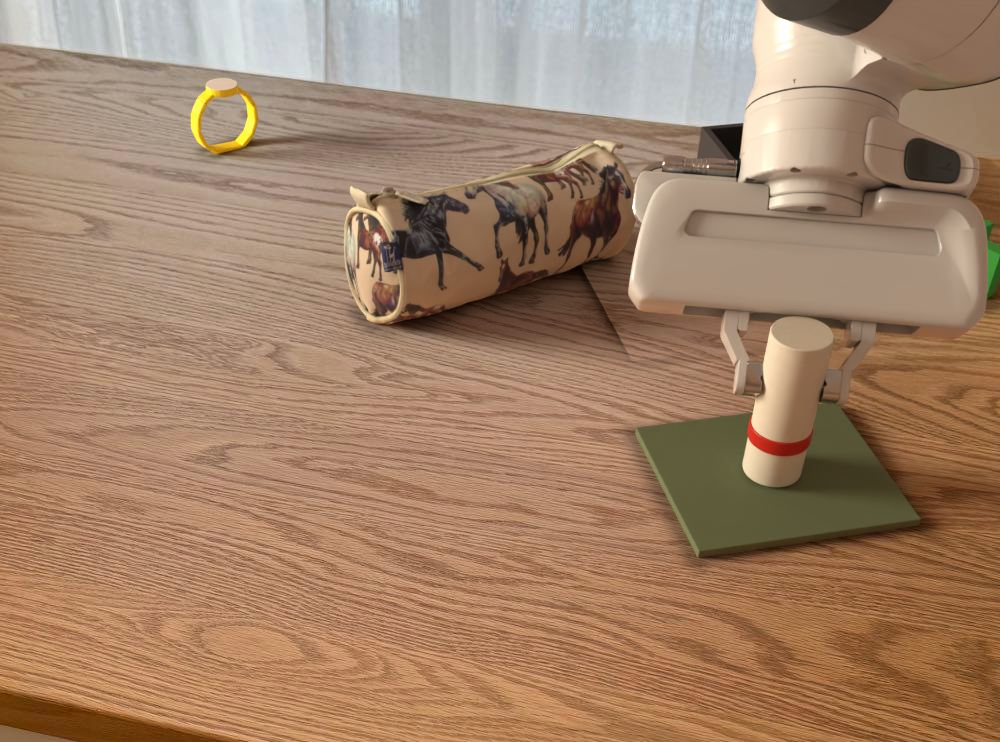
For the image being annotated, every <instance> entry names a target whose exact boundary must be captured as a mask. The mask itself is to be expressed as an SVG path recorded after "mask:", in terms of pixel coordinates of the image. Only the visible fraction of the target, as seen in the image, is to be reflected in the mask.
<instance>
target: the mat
mask: <svg viewBox="0 0 1000 742" xmlns="http://www.w3.org/2000/svg"><path fill="white" fill-rule="evenodd" d="M752 414H753V412H748V413H739V414H733V415H724V416H717V417H708V418H701V419H693V420H685V421H678V422H671V423H670V422H669V423H661V424H653V425H647V426H646V425H645V426H637V427H635V432H634V435H635V437H636V439H637V441H638V443H639V445H640V447H641V449H642V451H643V453H644V455H645V457H646V459H647V461H648V462H649V465H650V467H651V469H652V471H653V473H654V475H655V477H656V479H657V480H658V482H659V484H660V486H661V488H662V491H663V492H664V494H665V496H666V498H667V500H668V502H669V504H670V507H671V508H672V510H673V512H674V514H675V516H676V518H677V520H678V522H679V525H680V526H681V528H682V530H683V532H684V534H685V536H686V538H687V540H688V542H689V544H690V545H691V548H692V550H693V552H694V553H695V556H696V557H697V559H700V558H706V557H714V556H721V555H729V554H736V553H742V552H748V551H755V550H762V549H770V548H776V547H782V546H789V545H797V544H803V543H810V542H816V541H823V540H830V539H837V538H844V537H851V536H857V535H863V534H864V535H865V534H871V533H872V534H873V533H878V532H885V531H891V530H899V529H905V528H911V527H912V528H913V527H917V526H918V527H919V526H920V524H921V521H922V518H921V517H920V515H919V514H918V512H916V510H915V508H914V507H913V506H912V504H911V503H910V502H909V501H908V499H907V498H906V496H905V494H904V493H903V492H902V490H901V489H900V488H899V486H898V484H896V482H895V480H893V478H892V477H891V475H890V474H889V472H888V471H887V470H886V468H885V467H884V465H883V464H882V463H881V461H880V460H879V459H878V457H877V456H876V454H875V453H874V452H873V450H872V449H871V448H870V447H869V445H868V443H867V442H866V441H865V439H864V438H863V436H862V435H861V433H859V431H858V430H857V428H856V427H855V425H854V424H853V423H852V421H851V420H850V418H849V417H848V416H847V414H846V413H845V412H844V410H843V409H842V407H841V405H835V404H827V403H819V404H818V408H817V412H816V416H815V420H814V424H813V429H814V430H813V435H812V439H811V443H810V446H809V447H808V448H807V452H806V456H805V460H804V464H803V468H802V472H801V476H800V478H799V479H798V480H797V481H796V482H795V483H793V484H791V485H789V486H785V487H768V486H764V485H761V484H758V483H756V482H754V481H753V480H751V479H750V478H749V477H748V476H747V475H746V474H745V472H744V470H743V467H742V463H743V458H744V453H745V449H746V444H747V439H748V435H747V431H748V426H749V421H750V418H751V416H752Z"/></svg>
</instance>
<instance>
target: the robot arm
mask: <svg viewBox="0 0 1000 742" xmlns="http://www.w3.org/2000/svg"><path fill="white" fill-rule="evenodd" d="M752 53H753V58H754V64H755V78H754V82H753V86H752V89H751V91H750V94H749V96H748V98H747V101H746V104H745V107H744V118H743V123H744V124H743V133H742V142H741V152H740V158H739V160H733V159H717V158H708V159H707V158H705V159H697V158H693V157H692V158H690V157H686V156H684V155H678V154H676V155H675V154H674V155H673V154H671V155H665V156H663V157H662V161H659V160H658V161H655V162H652V163H650V164H648V165H647V166H645V167H643V169H641V171H640V172H639V174H637V177H636V179H635V181H634V194H633V202H632V211H633V215H634V218H635V220H636V222H635V223H637V224H638V226H640V228H639V232H638V236H637V240H636V244H635V248H634V252H633V253H634V254H633V258H632V263H631V268H630V276H629V281H628V289H627V295H628V298H629V299H630V301H631V302H632V304H633V305H634V306H635V308H636V309H637V310H638V311H640V312H643V313H644V312H645V313H653V314H664V315H677V316H686V317H698V318H708V319H721V324H720V325H721V326H720V334H719V338H720V340H721V342H722V344H723V346H724V348H725V351H726V353H727V355H728V358H729V359H730V362H731V364H732V366H733V367H735V368H734V369H735V370H734V377H733V387H732V395H734V396H735V395H736V396H744V397H745V396H746V397H755V398H756V397H757V396H759V395H760V393H761V387H762V381H761V379H760V377H761V376H762V375H763V362H757V361H751V359H750V357H749V356H750V355H749V354H748V352H747V350H746V348H745V347H746V346H745V344H744V343H743V340H742V339H743V338H744V337H745V335H746V333H747V331H748V329H749V322H753V323H764V324H773V323H774V322H776V321H777V320H779V319H781V318H785V317H790V316H802V317H808V318H812V319H816V320H818V321H820V322H822V323H824V324H826V325H827V326H828V327H830V329H831V330H843V331H844V335H843V345H842V346H843V348H844V349H852V350H851V351H850V353H849V354H848V356H847V357H846V358H845V360H844V361H843V362H842V364H841V365H840V366H839V367H838V369H832V368H827V372H826V376H825V380H824V384H823V388H822V392H821V396H820V400H819V404H824V403H827V404H835V405H839V406H844V405H846V404H847V403H848V400H849V398H850V390H851V381H852V373H853V372H854V371H855V370H856V369H857V367H858V366H859V365H860V363H862V361H863V360H864V359H865V357H866V355H867V354H868V353H869V351H870V350H871V349H872V347H873V346H874V345H875V343H876V334H885V335H897V336H908V337H920V338H930V339H940V340H941V339H942V340H957V339H959V338H961V337H962V336H964V335H965V334H968V333H969V332H970V331H971V330H973V328H975V327H976V326H977V325H978V323H980V321H982V318H983V317H984V315H985V312H986V308H987V301H988V298H987V289H988V245H987V232H986V226H985V222H984V220H985V219H984V216H983V214H982V212H981V211H980V209H979V208H978V206H977V205H976V204H975V203H974V202H973V201H971V200H970V199H969V198H970V196H971V195H972V193H973V192H974V190H975V188H976V186H977V184H978V182H979V177H980V170H981V167H980V165H981V164H980V160H979V158H978V157H977V156H976V155H975V154H973V153H971V152H970V151H968V150H965V149H963V148H960V147H958V146H955V145H952V144H950V143H947V142H944V141H942V140H939V139H937V138H934V137H932V136H929V135H926V134H924V133H922V132H919V131H917V130H915V129H913V128H911V127H908V126H906V125H904V124H902V123H900V122H899V120H900V108H901V102H902V100H903V98H904V97H905V96H906V95H907V94H909V93H911V92H913V91H923V92H937V91H948V90H955V89H956V90H957V89H962V88H968V87H975V86H980V85H985V84H988V83H992V82H995V81H998V80H999V79H1000V0H757V1H756V7H755V15H754V24H753V32H752ZM660 169H661V171H655V170H660ZM735 177H736V178H735ZM736 179H738V180H737V182H736Z"/></svg>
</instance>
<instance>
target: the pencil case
mask: <svg viewBox="0 0 1000 742" xmlns="http://www.w3.org/2000/svg"><path fill="white" fill-rule="evenodd" d="M615 149H618V150H622V149H624V144H623V143H621V142H617V141H613V140H607V139H606V140H605V139H595V140H594V141H593V142H589V143H588V142H587V143H583V144H580V145H578V146H576V147H573V148H572V149H571V150H568V151H566V152H564V153H562V154H558V155H556V156H555V157H551V158H549V159H547V160H544V161H537V162H532V163H529V164H525V165H521V166H519V167H515V168H512V169H508V170H505V171H502V172H498V173H495V174H494V173H493V174H491V175H486V176H483V177H480V178H477V179H473V180H471V181H468V182H466V183H461V184H460V183H459V184H454V185H449V186H445V187H439V188H435V189H429V190H424V191H417V192H409V191H407V190H406V191H405V190H402V189H398V190H396V189H395V188H394V187H393V186H388V185H386V186H383V187H382V189H381V191H376V192H375V191H374V192H370V193H368V192H365V191H363V190H361V189H359V188H356V187H355V186H353V185H350V187H349V193H350V195H351V197H352V199H353V201H354V202H355V204H354V206H353V207H352V208H350V209H349V211H348V212H347V215H346V217H345V221H344V228H343V232H344V233H343V254H344V255H343V257H344V268H345V269H344V270H345V274H346V278H347V283H348V286H349V289H350V292H351V295H352V297H353V299H354V301H355V303H356V306H357V307H358V308H359V310H360V311H361V313H363V315H364V316H365V317H366V321H369V322H371V323H373V324H380V325H391V324H394V323H399V322H401V321H406V320H407V321H408V320H413V319H419V318H423V317H428V316H433V315H434V314H440V313H442V312H445V311H447V310H451V309H454V308H456V307H460V306H463V305H464V304H465V305H466V304H467V303H470V302H474V301H479V300H482V299H486V298H488V297H492V296H495V295H499V294H503V293H507V292H509V291H512V290H515V289H517V288H520V287H522V286H525V285H528V284H531V283H533V282H535V281H537V280H541V279H543V278H546V277H550V276H552V275H557V274H561V273H565V272H568V271H570V270H572V269H574V268H576V267H578V266H581V265H584V264H585V263H587V262H593V261H600V260H601V261H602V260H606V259H609V258H613V257H614V256H617V255H618V254H620V253H621V252H622V251H623V250H624V249H625V247H626V246H627V244H628V243H629V240H630V238H631V237H632V234H633V231H634V228H635V225H636V223H637V222H636V220H635V218H634V215H633V211H632V202H633V194H634V185H635V183H634V182H633V178H632V176H631V174H630V171H629V169H628V167H627V166H626V164H625V162H624V161H623V160H622V158H620V157H619V156H618V155H617V154H615V153H614V151H615Z"/></svg>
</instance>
